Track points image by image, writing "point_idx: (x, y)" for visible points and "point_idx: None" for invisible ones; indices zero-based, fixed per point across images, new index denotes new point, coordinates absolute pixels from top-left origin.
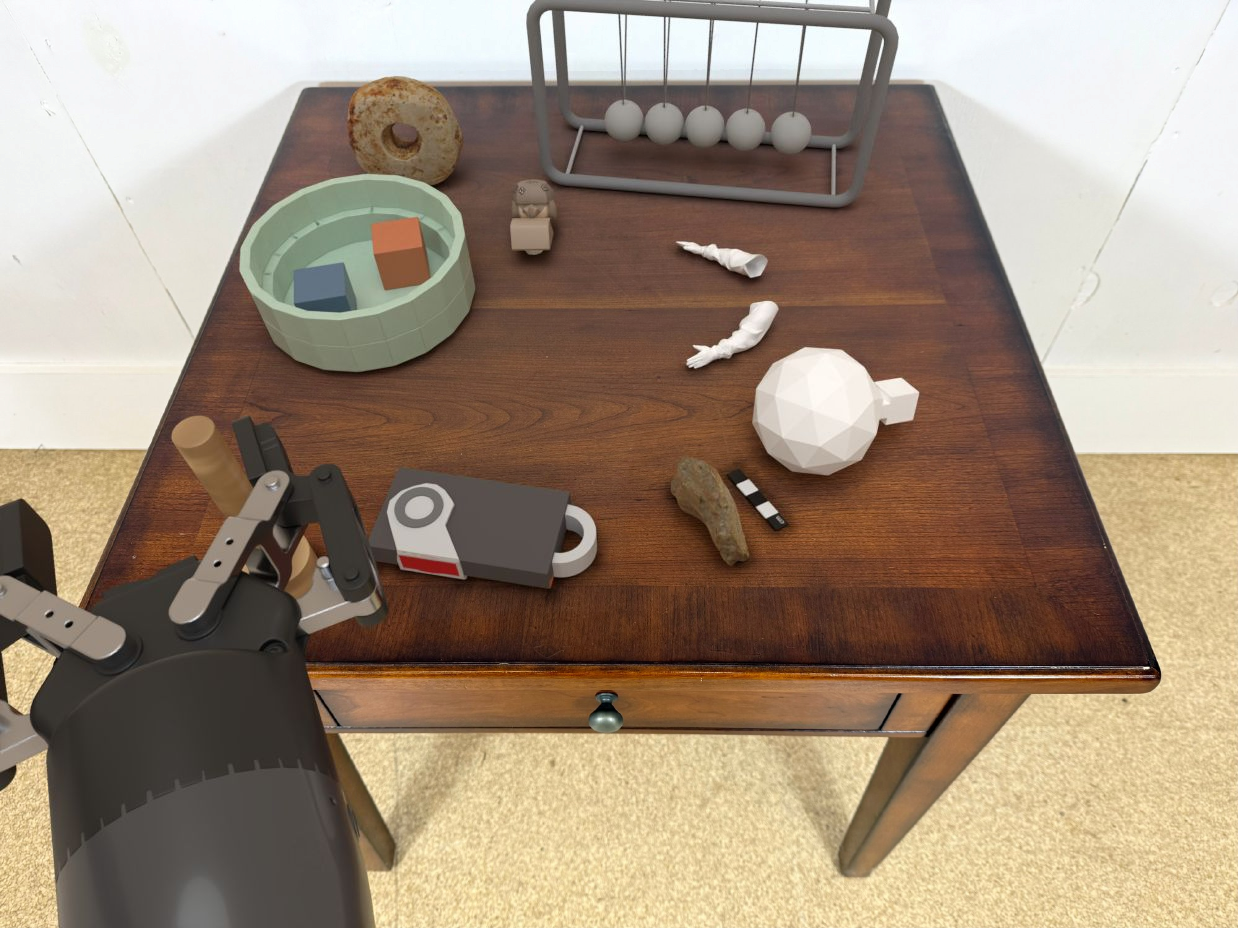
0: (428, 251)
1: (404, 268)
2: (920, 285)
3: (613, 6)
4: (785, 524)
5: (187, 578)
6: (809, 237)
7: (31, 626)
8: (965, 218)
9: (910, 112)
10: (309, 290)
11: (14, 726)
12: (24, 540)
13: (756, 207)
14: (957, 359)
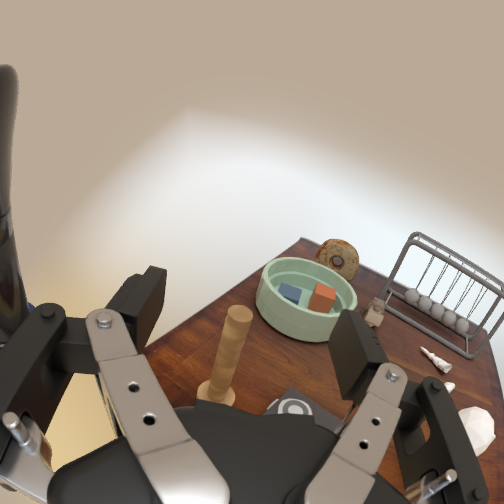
0: None
1: (321, 305)
2: (487, 396)
3: (437, 253)
4: None
5: (306, 442)
6: (459, 365)
7: (107, 386)
8: (497, 377)
9: (483, 337)
10: (285, 292)
11: (33, 470)
12: (150, 298)
13: (444, 347)
14: (494, 427)
